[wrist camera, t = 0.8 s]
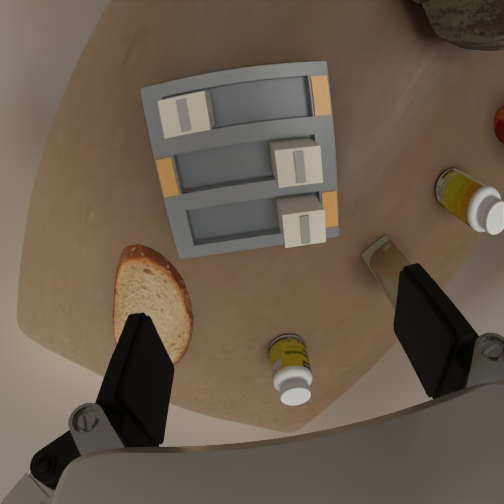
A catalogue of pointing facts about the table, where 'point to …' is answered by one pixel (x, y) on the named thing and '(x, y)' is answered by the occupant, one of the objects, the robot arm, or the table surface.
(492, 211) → the supplement bottle
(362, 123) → the table surface
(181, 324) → the bread slice
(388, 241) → the skincare box
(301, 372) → the supplement bottle
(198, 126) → the beige switch slider block
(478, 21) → the tabletop clock
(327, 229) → the switch bank
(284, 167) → the tab
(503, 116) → the paper cup
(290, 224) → the tab
